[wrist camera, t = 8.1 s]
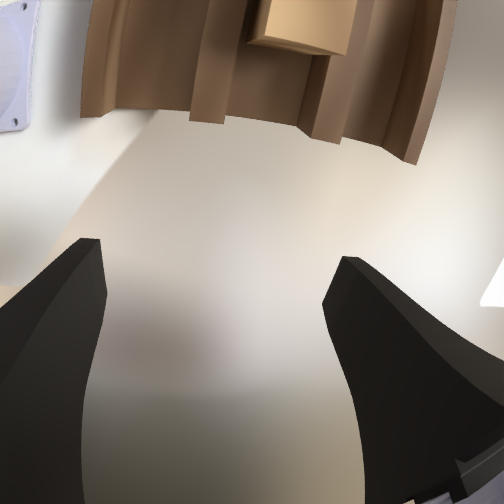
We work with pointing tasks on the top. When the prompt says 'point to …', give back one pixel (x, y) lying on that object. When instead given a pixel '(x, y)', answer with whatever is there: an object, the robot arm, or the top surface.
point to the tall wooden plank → (303, 25)
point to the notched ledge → (272, 69)
